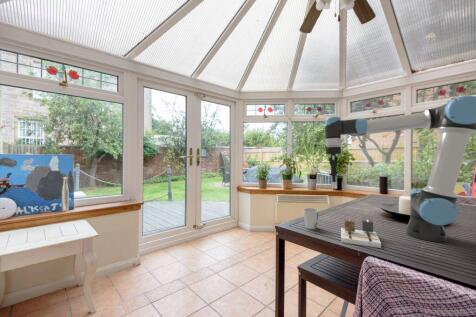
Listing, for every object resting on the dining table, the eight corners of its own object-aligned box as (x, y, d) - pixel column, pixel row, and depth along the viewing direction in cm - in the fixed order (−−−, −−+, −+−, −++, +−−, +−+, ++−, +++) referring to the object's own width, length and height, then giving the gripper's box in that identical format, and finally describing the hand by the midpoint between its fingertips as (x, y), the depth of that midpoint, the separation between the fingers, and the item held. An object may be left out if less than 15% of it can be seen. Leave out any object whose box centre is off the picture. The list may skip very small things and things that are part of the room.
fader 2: (372, 230, 106) (372, 220, 106) (373, 232, 103) (373, 222, 103) (362, 229, 108) (362, 219, 108) (362, 231, 105) (362, 220, 105)
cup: (319, 230, 115) (319, 212, 115) (304, 229, 116) (304, 211, 116) (317, 225, 123) (317, 208, 122) (302, 225, 124) (302, 207, 124)
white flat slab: (375, 236, 106) (375, 231, 106) (381, 248, 93) (381, 242, 93) (341, 231, 113) (341, 227, 113) (341, 242, 99) (341, 237, 99)
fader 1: (354, 229, 107) (354, 220, 107) (354, 232, 104) (354, 221, 104) (344, 228, 109) (344, 218, 109) (344, 230, 106) (344, 220, 106)
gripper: (326, 147, 126) (327, 183, 126) (324, 146, 103) (325, 189, 104) (340, 147, 123) (341, 183, 123) (341, 145, 100) (342, 190, 100)
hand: (334, 186), depth 113 cm, fingers open, 13 cm apart
